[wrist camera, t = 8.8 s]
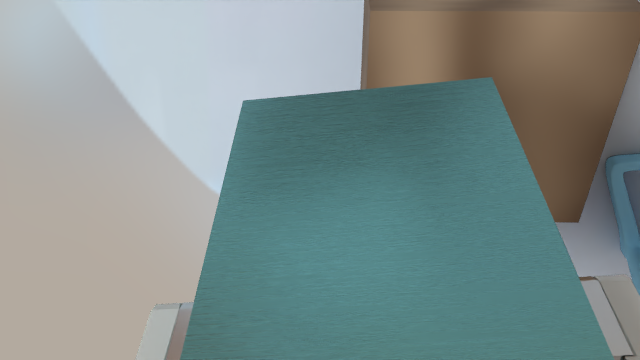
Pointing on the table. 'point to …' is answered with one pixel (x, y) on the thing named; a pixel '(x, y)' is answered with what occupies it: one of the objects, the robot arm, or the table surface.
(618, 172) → the chair
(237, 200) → the spice tin
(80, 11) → the table surface
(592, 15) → the walnut block
